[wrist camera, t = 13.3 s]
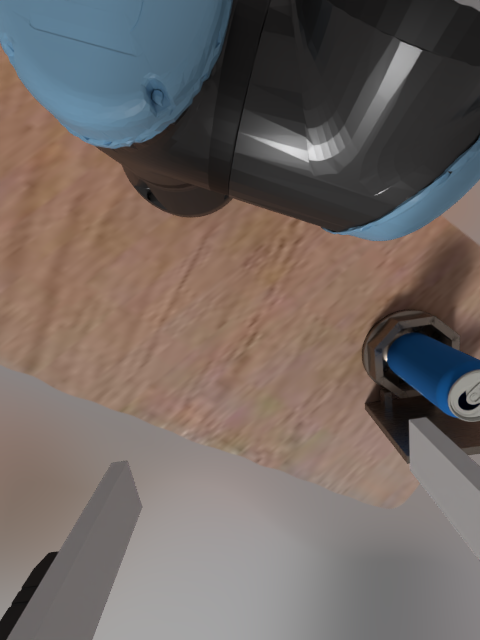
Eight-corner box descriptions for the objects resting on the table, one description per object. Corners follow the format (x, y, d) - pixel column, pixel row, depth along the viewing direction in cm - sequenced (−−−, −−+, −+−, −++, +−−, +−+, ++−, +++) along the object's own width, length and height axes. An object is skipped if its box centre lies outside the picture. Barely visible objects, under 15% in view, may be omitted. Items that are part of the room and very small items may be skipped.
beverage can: (374, 357, 39) (431, 402, 28) (407, 321, 38) (481, 353, 27) (407, 382, 40) (474, 436, 29) (440, 348, 39) (525, 390, 28)
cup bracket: (359, 317, 39) (404, 343, 28) (447, 303, 38) (527, 324, 28) (365, 409, 42) (407, 463, 32) (446, 397, 42) (516, 448, 31)
